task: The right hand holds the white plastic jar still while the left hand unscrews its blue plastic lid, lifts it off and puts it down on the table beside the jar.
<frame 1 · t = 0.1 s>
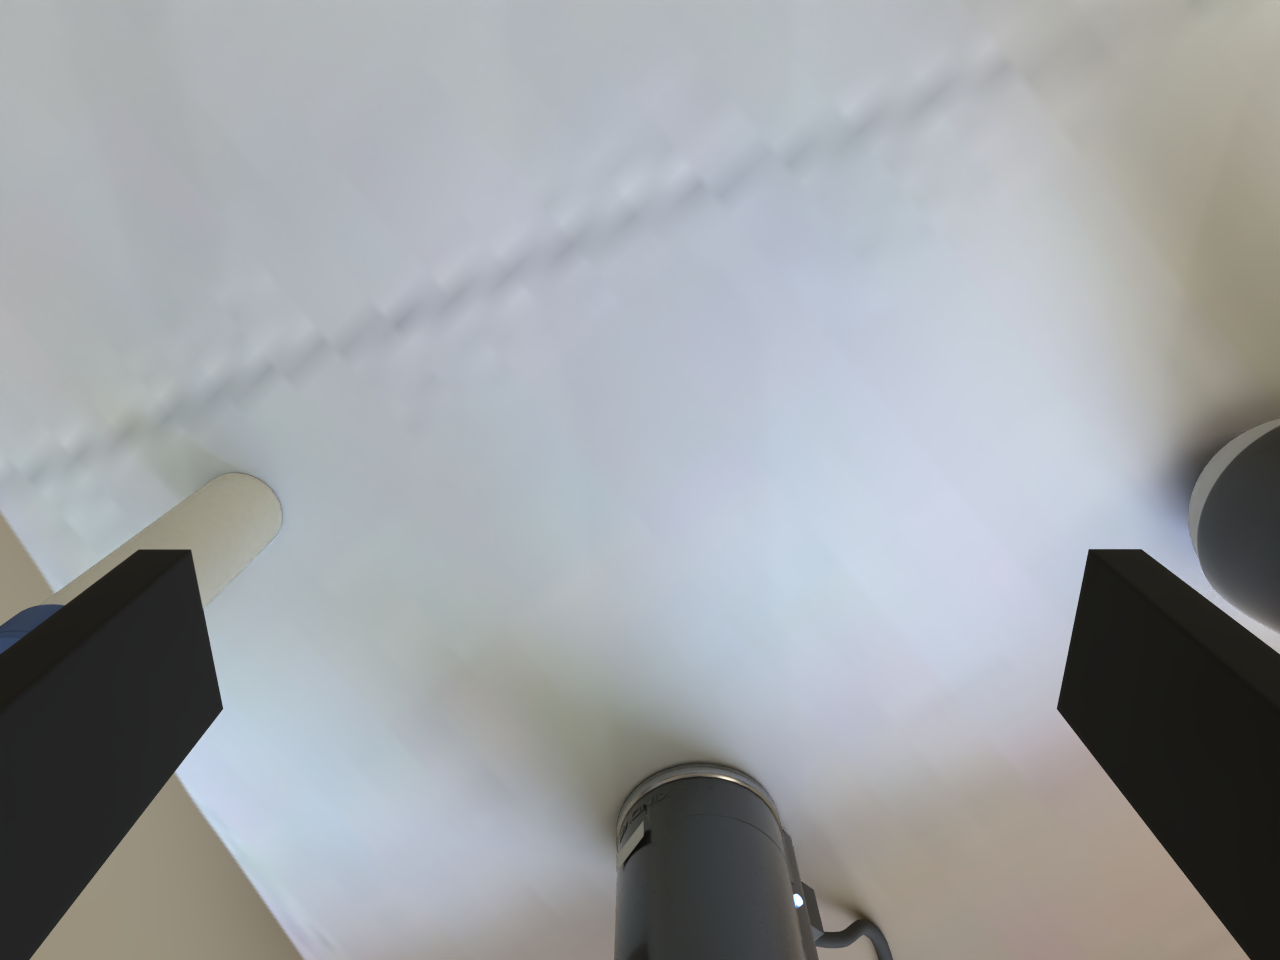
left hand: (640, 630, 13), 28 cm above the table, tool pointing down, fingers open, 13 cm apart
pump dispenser: (1255, 486, 42), on the table
jar: (241, 510, 42), on the table
lid: (32, 690, 28), point 16 cm above the table, screwed on, not yet turned
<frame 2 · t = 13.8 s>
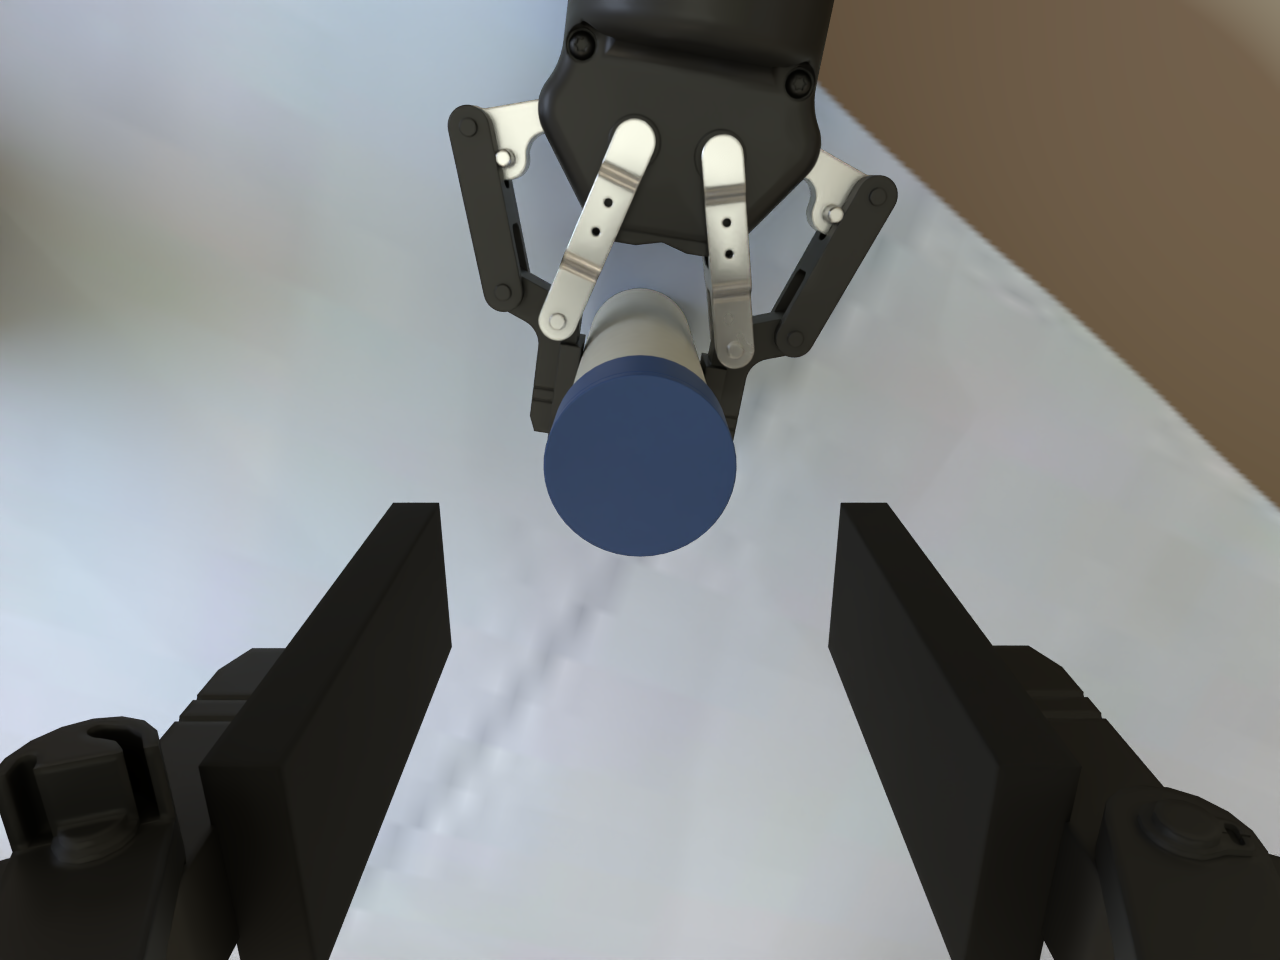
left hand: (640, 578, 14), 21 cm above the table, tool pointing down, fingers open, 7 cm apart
jar: (639, 338, 34), on the table, touching right hand
lid: (640, 464, 20), point 16 cm above the table, screwed on, not yet turned
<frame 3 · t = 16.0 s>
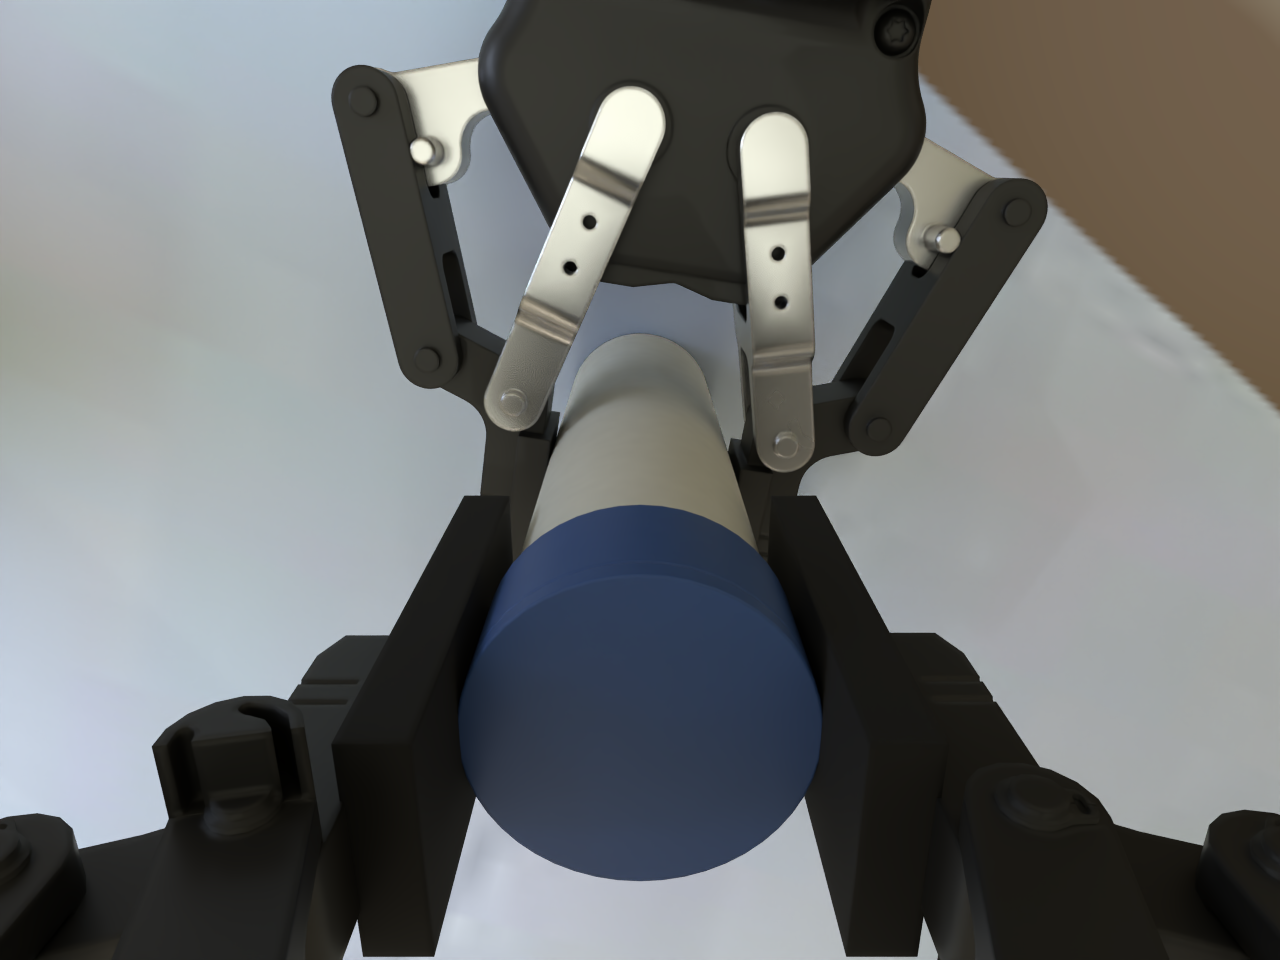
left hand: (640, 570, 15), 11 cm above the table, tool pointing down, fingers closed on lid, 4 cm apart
jar: (639, 401, 25), on the table, touching right hand
lid: (640, 722, 11), point 16 cm above the table, screwed on, not yet turned, touching left hand
when the left hand's fingers open (11 cm above the table, at t = 17.2 s): lid stays where it is, point 16 cm above the table.
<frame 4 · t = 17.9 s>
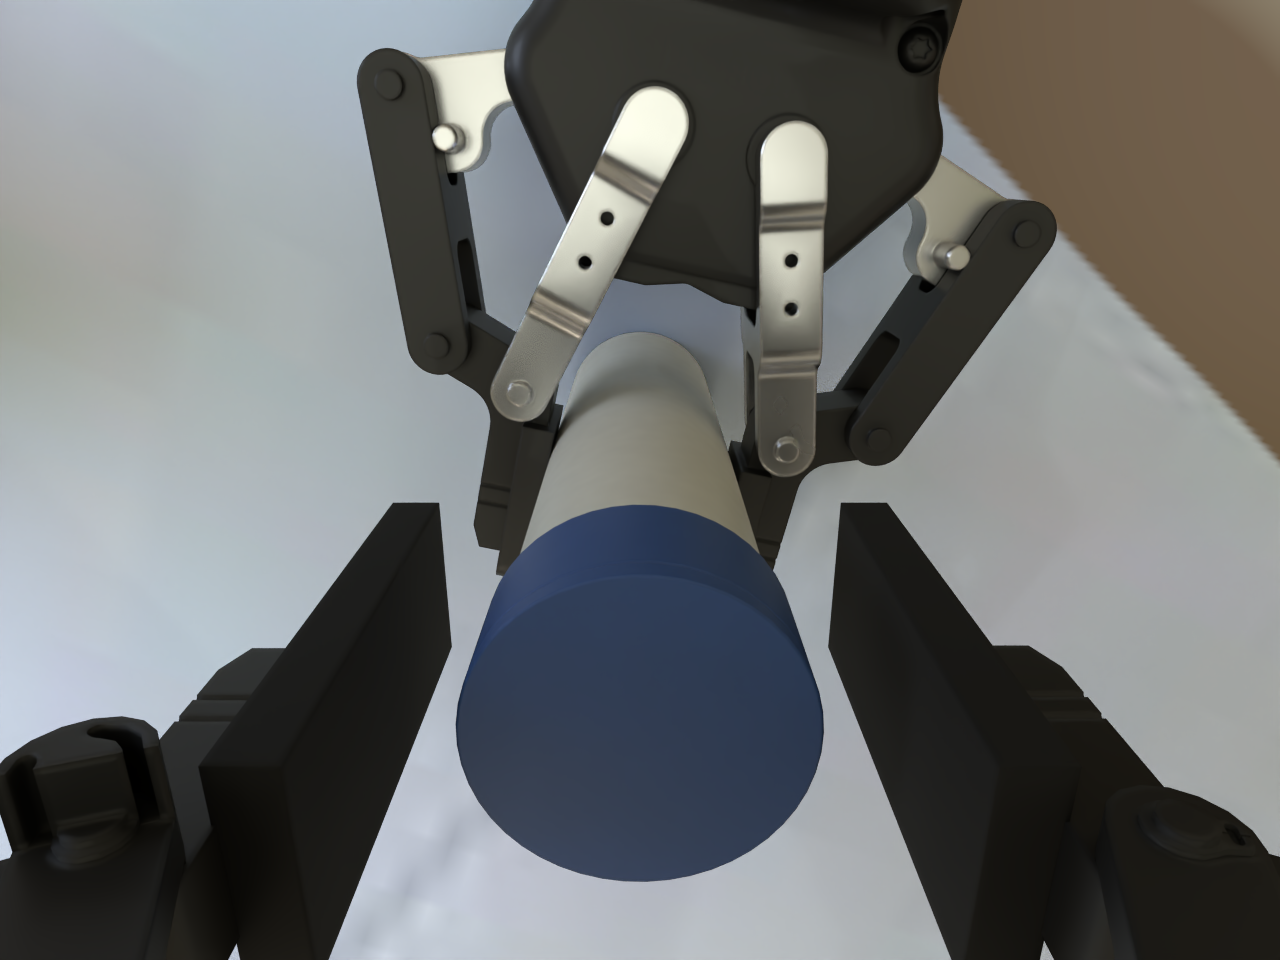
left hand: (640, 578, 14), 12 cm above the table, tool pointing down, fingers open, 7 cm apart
jar: (639, 399, 25), on the table, touching right hand
lid: (639, 722, 11), point 16 cm above the table, turned 73° so far, risen 0.2 cm, still on its thread
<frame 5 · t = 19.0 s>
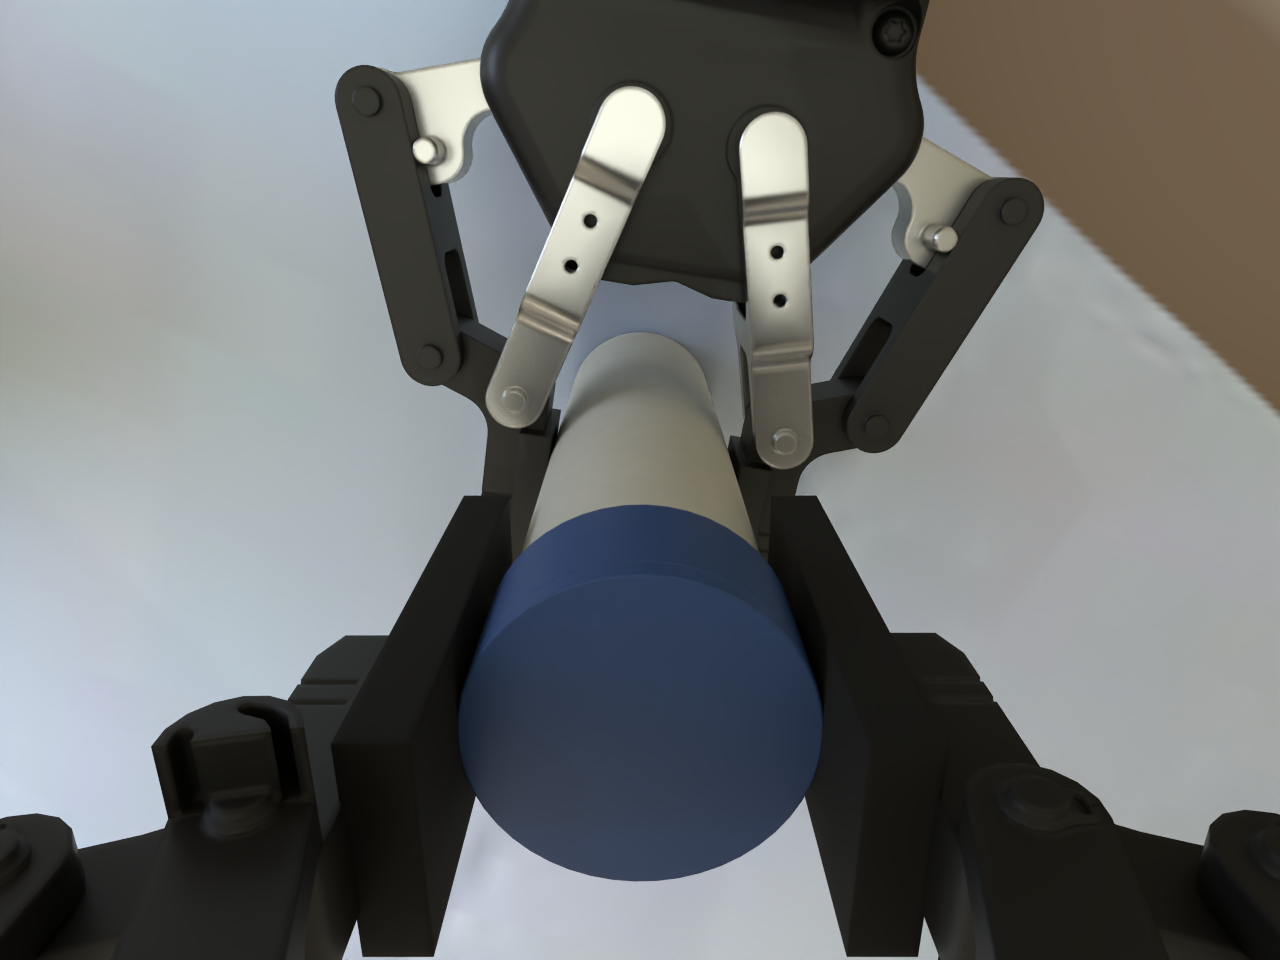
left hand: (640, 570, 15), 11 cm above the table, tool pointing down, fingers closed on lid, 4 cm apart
jar: (640, 399, 25), on the table, touching right hand
lid: (640, 722, 11), point 16 cm above the table, turned 73° so far, risen 0.2 cm, still on its thread, touching left hand
when the left hand's fingers open (0 cm above the table, at t = 26.7 s): lid drops 3 cm, point 2 cm above the table.
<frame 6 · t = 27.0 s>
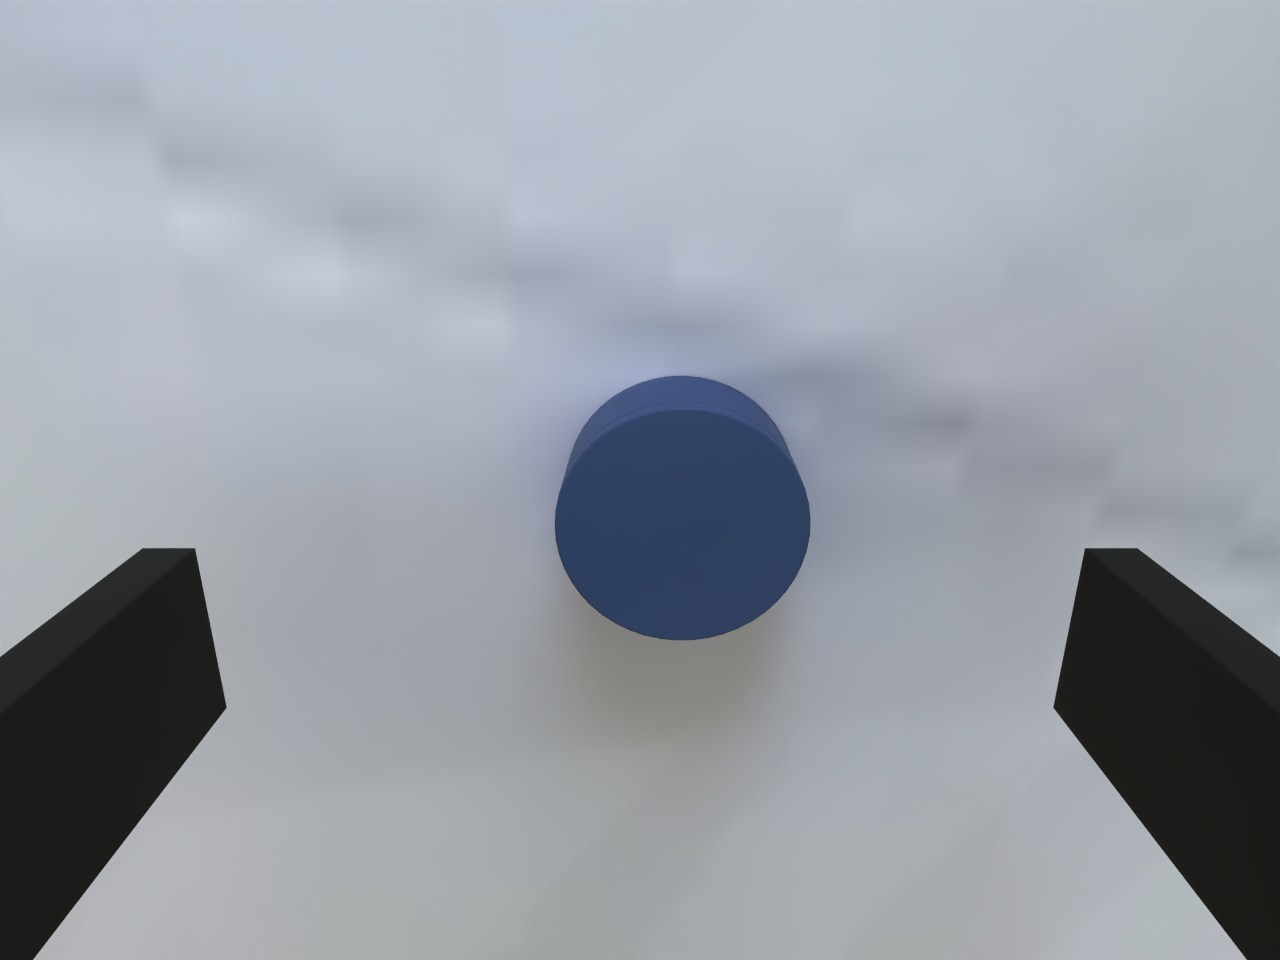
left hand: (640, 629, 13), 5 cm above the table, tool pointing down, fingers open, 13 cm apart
lid: (681, 522, 15), point 2 cm above the table, off its thread
when the right hand's fingers open (7 cm above the table, at t = 27.3 s): jar stays where it is, on the table.
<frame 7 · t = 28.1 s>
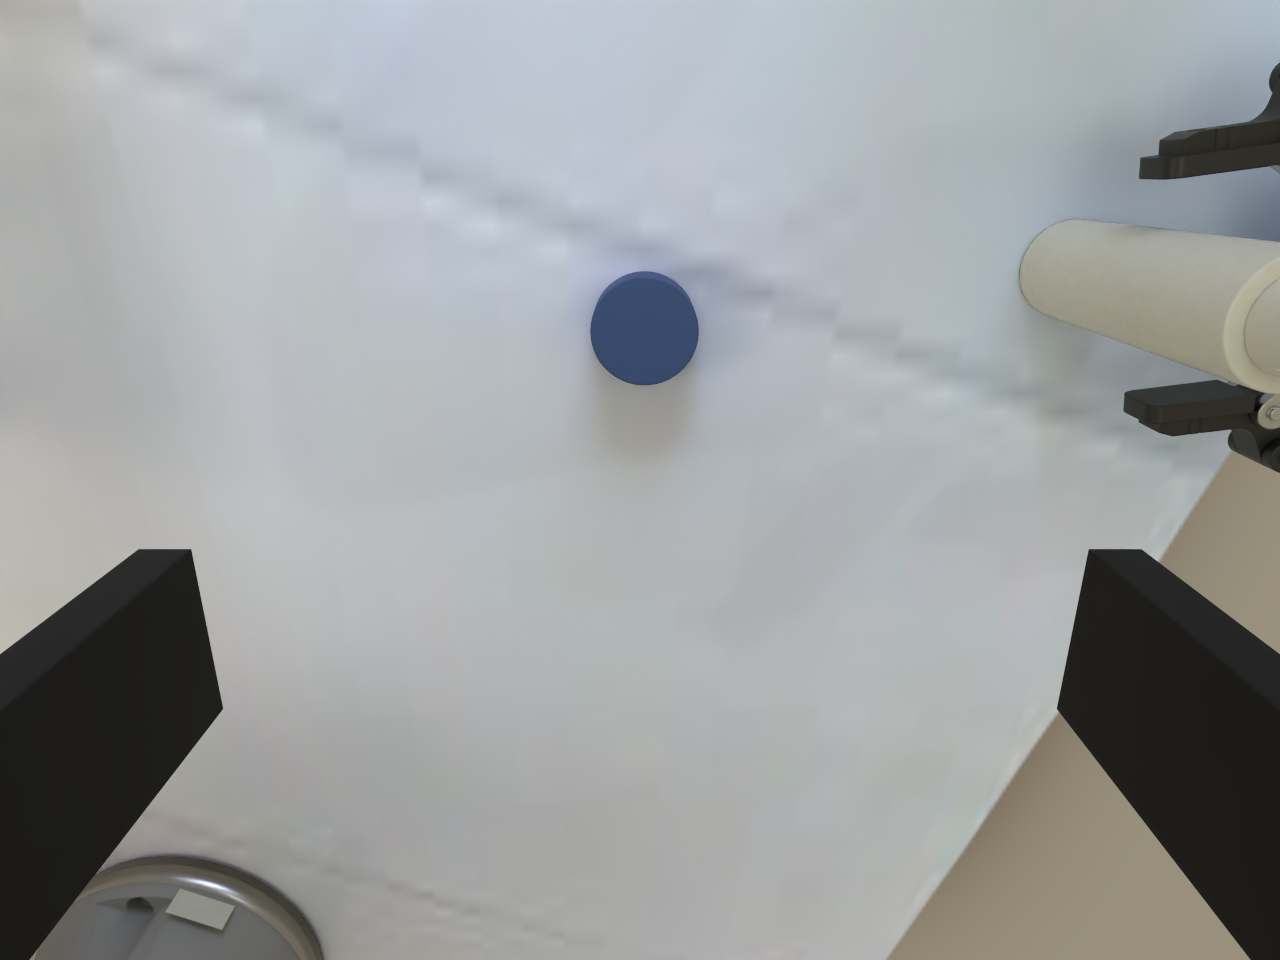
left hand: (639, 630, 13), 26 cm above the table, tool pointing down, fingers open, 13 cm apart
jar: (1067, 268, 36), on the table
lid: (644, 331, 35), point 2 cm above the table, off its thread
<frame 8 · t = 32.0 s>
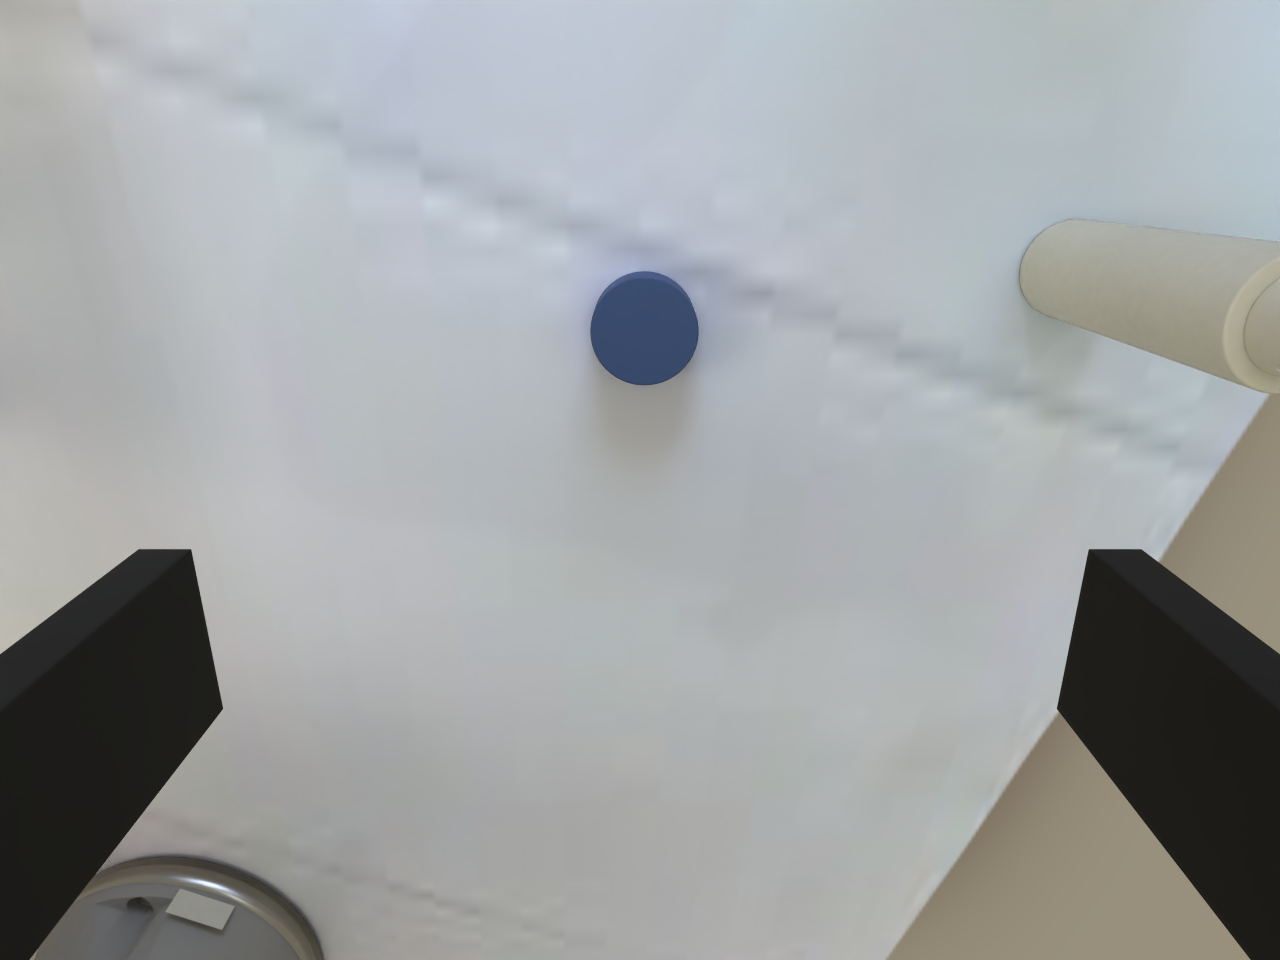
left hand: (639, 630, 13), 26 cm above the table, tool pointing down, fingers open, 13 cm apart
jar: (1067, 268, 36), on the table
lid: (644, 331, 35), point 2 cm above the table, off its thread
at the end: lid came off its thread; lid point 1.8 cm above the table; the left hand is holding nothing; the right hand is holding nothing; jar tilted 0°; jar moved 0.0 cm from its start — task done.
